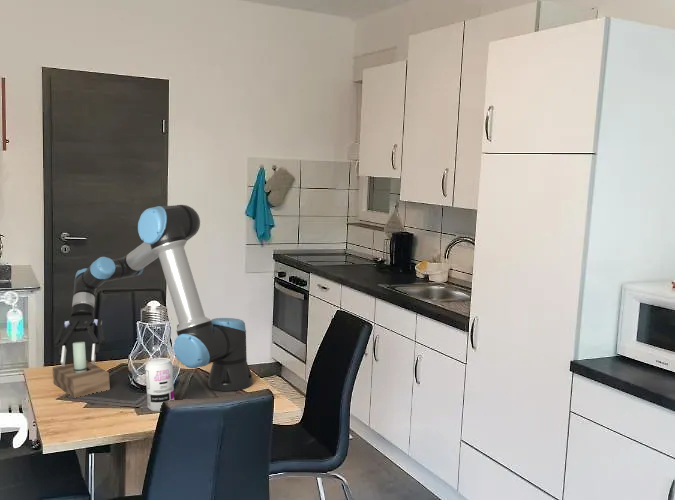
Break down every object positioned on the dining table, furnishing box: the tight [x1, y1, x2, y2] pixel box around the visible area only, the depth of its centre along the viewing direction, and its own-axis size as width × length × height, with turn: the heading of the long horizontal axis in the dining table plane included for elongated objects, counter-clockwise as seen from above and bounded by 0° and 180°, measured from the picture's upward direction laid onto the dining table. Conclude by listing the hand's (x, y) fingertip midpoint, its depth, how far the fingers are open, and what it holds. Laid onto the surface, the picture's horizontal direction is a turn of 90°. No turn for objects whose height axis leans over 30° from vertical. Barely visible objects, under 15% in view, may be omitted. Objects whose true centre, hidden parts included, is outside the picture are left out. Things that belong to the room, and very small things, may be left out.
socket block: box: [52, 360, 111, 399], centre depth 235 cm, size 20×12×6 cm, turn 41°
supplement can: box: [145, 357, 175, 412], centre depth 213 cm, size 8×8×15 cm
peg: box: [72, 341, 87, 374], centre depth 234 cm, size 4×4×15 cm
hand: (78, 363), depth 231 cm, fingers open, 9 cm apart
